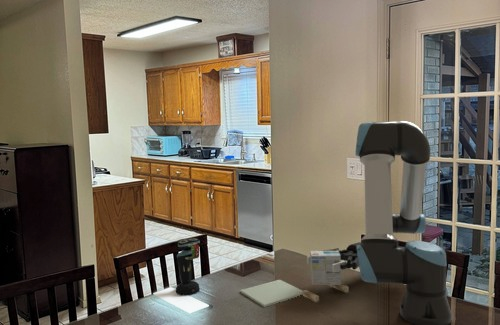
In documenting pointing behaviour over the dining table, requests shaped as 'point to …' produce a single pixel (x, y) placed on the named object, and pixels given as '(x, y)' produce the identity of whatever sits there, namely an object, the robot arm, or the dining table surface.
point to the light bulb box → (324, 268)
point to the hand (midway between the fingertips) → (319, 264)
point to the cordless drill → (187, 266)
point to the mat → (272, 292)
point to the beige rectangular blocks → (316, 297)
